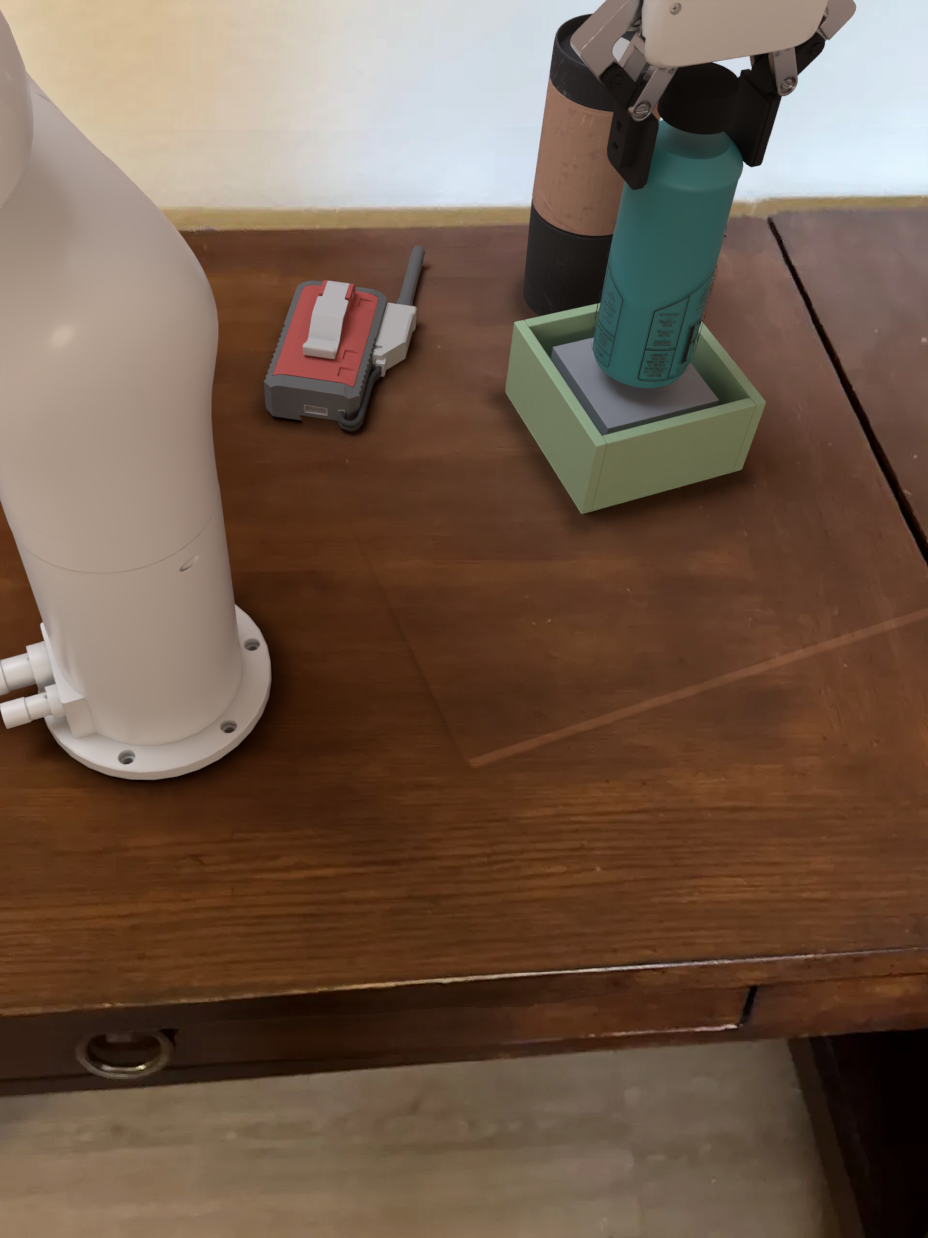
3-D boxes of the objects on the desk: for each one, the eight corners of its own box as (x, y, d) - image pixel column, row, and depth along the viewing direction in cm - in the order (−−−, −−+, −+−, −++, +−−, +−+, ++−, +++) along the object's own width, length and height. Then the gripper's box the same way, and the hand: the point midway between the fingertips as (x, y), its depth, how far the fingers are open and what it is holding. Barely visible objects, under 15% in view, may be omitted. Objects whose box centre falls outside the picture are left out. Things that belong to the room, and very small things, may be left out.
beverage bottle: (681, 417, 76) (768, 119, 60) (576, 397, 76) (635, 95, 60) (690, 351, 80) (774, 54, 64) (590, 332, 80) (650, 32, 64)
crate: (579, 522, 78) (596, 446, 72) (503, 399, 84) (513, 321, 79) (739, 477, 81) (766, 401, 76) (654, 363, 88) (674, 285, 82)
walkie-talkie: (387, 448, 80) (432, 265, 92) (388, 398, 77) (435, 214, 89) (256, 429, 81) (319, 248, 93) (252, 378, 77) (317, 197, 89)
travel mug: (505, 278, 92) (536, 16, 76) (598, 265, 94) (647, 6, 78) (538, 343, 88) (578, 80, 72) (635, 328, 90) (695, 68, 74)
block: (595, 484, 79) (608, 428, 75) (543, 403, 83) (552, 346, 79) (701, 455, 81) (719, 400, 77) (645, 378, 85) (659, 321, 81)
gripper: (889, -259, 56) (781, 104, 71) (555, -232, 51) (511, 152, 66) (989, -195, 52) (854, 175, 67) (637, -160, 47) (572, 232, 62)
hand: (684, 161), depth 66 cm, fingers closed on beverage bottle, 6 cm apart
